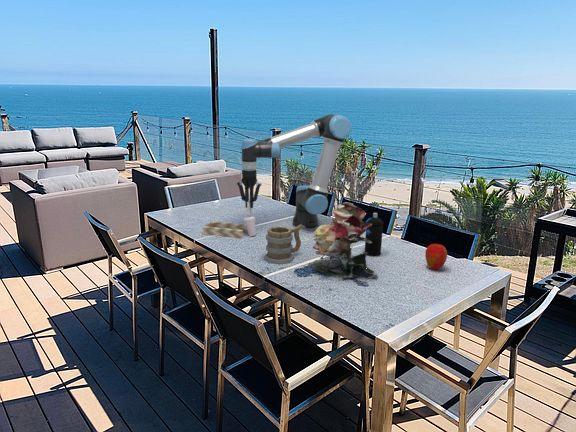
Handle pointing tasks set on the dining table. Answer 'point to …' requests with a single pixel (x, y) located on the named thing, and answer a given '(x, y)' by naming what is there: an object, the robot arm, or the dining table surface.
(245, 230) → the braided bread loaf
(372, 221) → the aerosol can
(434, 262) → the apple
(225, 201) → the dining table surface
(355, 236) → the rose bouquet
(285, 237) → the tankard
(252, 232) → the smoothie
